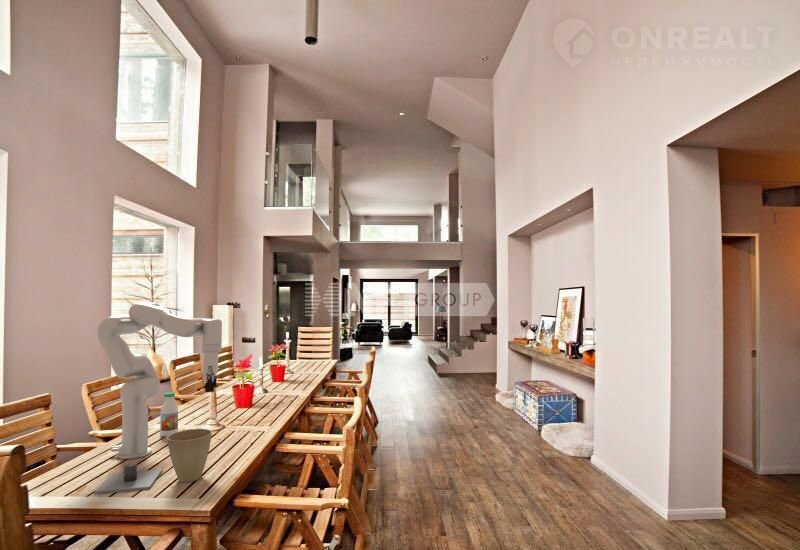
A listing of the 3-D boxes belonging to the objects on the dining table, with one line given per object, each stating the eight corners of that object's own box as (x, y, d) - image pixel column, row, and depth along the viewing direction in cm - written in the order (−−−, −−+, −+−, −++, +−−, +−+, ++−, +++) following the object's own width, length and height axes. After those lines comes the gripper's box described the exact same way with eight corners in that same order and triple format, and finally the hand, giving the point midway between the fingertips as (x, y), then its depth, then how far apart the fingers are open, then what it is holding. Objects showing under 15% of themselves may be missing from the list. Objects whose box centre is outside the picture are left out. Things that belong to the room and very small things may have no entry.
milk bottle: (156, 436, 224) (156, 393, 225) (169, 431, 231) (170, 390, 232) (168, 437, 221) (168, 395, 222) (181, 433, 228) (181, 391, 229)
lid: (94, 496, 157) (94, 476, 157) (112, 477, 173) (112, 459, 174) (149, 490, 161) (149, 471, 161) (162, 473, 177) (162, 455, 178)
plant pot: (190, 469, 180) (190, 427, 180) (220, 474, 174) (220, 430, 175) (156, 483, 166) (157, 437, 167) (188, 489, 160) (188, 442, 161)
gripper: (204, 346, 203) (204, 386, 202) (199, 351, 186) (198, 394, 185) (223, 346, 205) (222, 385, 204) (219, 350, 188) (218, 393, 187)
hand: (211, 389), depth 195 cm, fingers open, 9 cm apart
